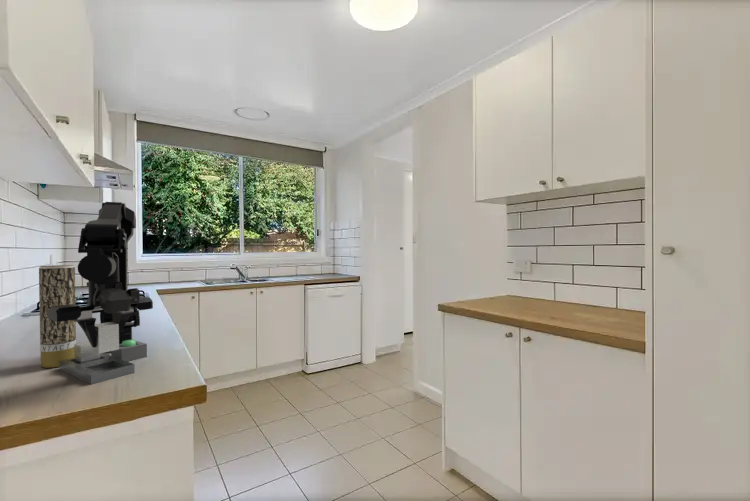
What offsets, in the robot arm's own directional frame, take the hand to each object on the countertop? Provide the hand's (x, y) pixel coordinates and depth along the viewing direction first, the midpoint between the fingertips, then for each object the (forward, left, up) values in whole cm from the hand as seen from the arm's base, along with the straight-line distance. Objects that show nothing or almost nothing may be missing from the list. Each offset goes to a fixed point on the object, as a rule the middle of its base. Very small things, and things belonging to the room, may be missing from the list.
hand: (105, 344), depth 84 cm
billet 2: (0, 0, -1) cm, 1 cm away
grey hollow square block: (-9, +9, -7) cm, 15 cm away
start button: (-9, +9, -5) cm, 14 cm away
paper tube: (-19, -3, -7) cm, 20 cm away
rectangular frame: (-5, 0, -7) cm, 8 cm away
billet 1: (-10, 0, -7) cm, 12 cm away
